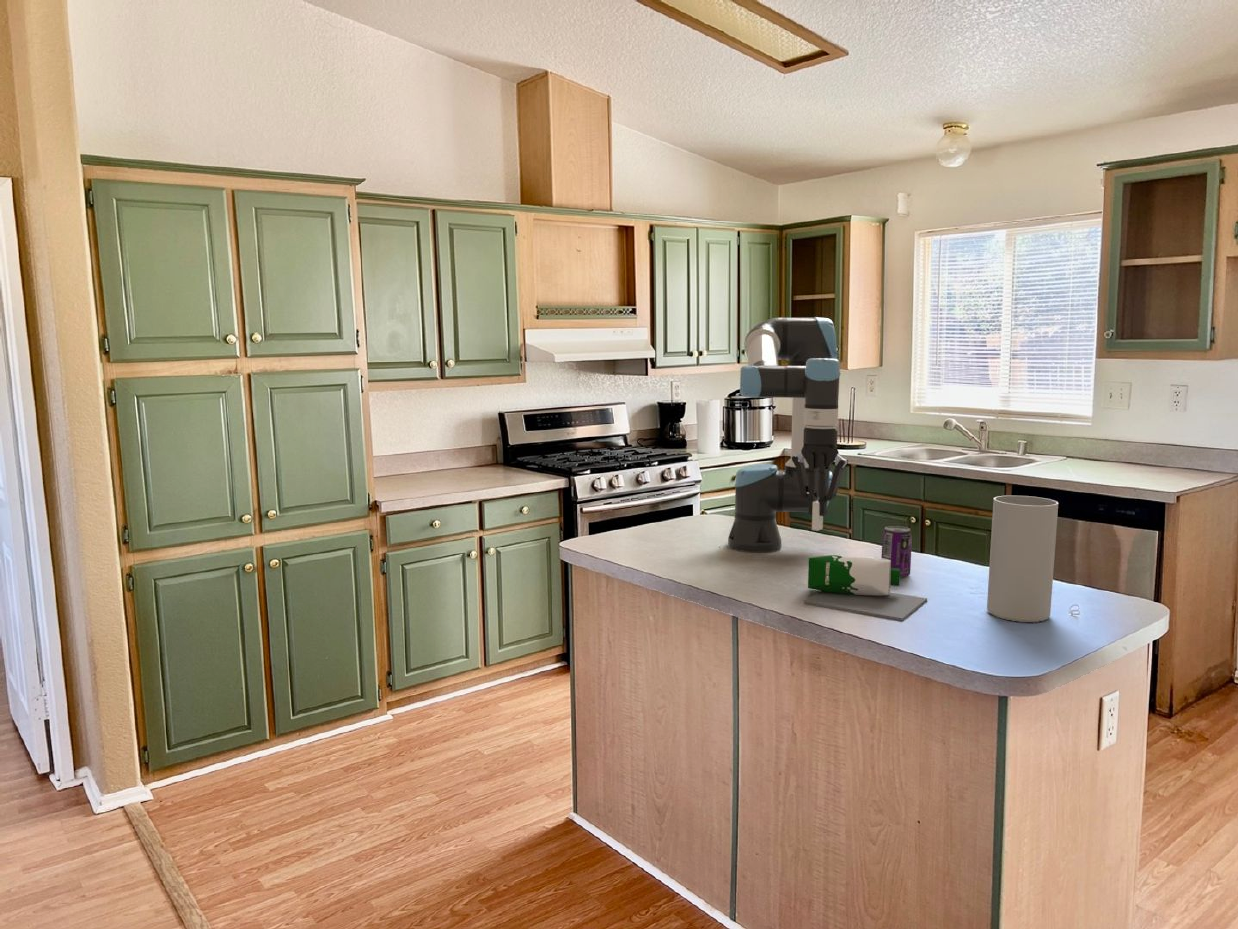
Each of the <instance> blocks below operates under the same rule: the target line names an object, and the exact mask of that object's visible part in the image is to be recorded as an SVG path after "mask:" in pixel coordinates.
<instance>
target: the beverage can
mask: <svg viewBox="0 0 1238 929" xmlns="http://www.w3.org/2000/svg"><path fill="white" fill-rule="evenodd" d="M912 542H913V536H912V533H911V528H909V527H906V526H900V525H897V526H896V525H895V526H893V525H891V526H885V527H884V531H883V533H882V536H881V556H880V558H883V559H884V560H885V559H887V560H891V568H899V569H900V579H902V578H906V577H908V576H910V575H911V567H912V566H911V565H912V545H913V543H912Z"/></svg>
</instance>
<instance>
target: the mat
mask: <svg viewBox="0 0 1238 929" xmlns="http://www.w3.org/2000/svg"><path fill="white" fill-rule="evenodd" d="M926 602H928V598H926V597H922V596H921V597H920V596H917V595H916V596H915V595H910V594H902V593H896V592H891V591H890V594H889V595H884V596H873V595H854V594H839V593H829V592H824V591H819V592H817V593H815V594H814V595H812V596H811V597H809V598H807V599H805V600H804V602H803V603H804V604H806V605H811V606H815V607H822V608H827V609H834V610H838V611H844V612H850V613H855V614H860V615H861V614H862V615H865V616H866V615H867V616H872V617H878V618H882V619H889V620H892V621H893V620H895V621H900V622H904V620H906V619H907V618H908V617H910V616H911V615H912V614H913V613H914V612H916V611H917V610H918V609H919V608H920V607H922V605H924V604H925V603H926Z"/></svg>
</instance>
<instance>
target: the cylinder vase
mask: <svg viewBox="0 0 1238 929" xmlns="http://www.w3.org/2000/svg"><path fill="white" fill-rule="evenodd" d="M992 503H993V505H992V519H991V533H990V534H991V536H990V537H991V538H990V551H989V553H990V554H989V564H988V565H989V567H988V586H987V600H986V609H987V612H988V613H990V614H991V615H993V616H994V617H995V618H998V619H1002V620H1005V619H1006V620H1007V621H1009V620H1011V621H1010V622H1015V621H1018V623H1026V622H1033V623H1040V622H1039V621H1042V622H1045V621H1046V619H1047V620H1048V619H1049V618H1050V616H1051V612H1052V611H1051V609H1052V595H1053V581H1054V567H1055V556H1056V555H1055V554H1056V553H1055V552H1056V542H1057V527H1058V526H1057V524H1058V513H1059V511H1058V510H1059V502H1058V501H1057V500H1054V499H1051V498H1046V497H1045V498H1044V497H1038V496H1029V495H1001V496H1000V495H999V496H998V495H997V496H995V497H993V502H992ZM1044 620H1045V621H1044Z"/></svg>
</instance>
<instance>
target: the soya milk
mask: <svg viewBox="0 0 1238 929" xmlns="http://www.w3.org/2000/svg"><path fill="white" fill-rule="evenodd" d="M807 568H808V573H807V574H808V575H807V589H811V590H815V591H819V592H820V591H824V592H829V593H839V594H854V595H873V596H884V595H889V594H890V592H891V586H894V587H899V586H900V580H901V578H900V569H899V568H891V560H887V559H885V560H884V559H883V558H881V557H876V556H874V557H871V556H861V555H860V556H859V555H857V556H855V555H842V554H841V555H840V554H836V555H835V554H832V555H831V554H830V555H821V556H820V555H819V556H812V557H809V558H808V567H807Z"/></svg>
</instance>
